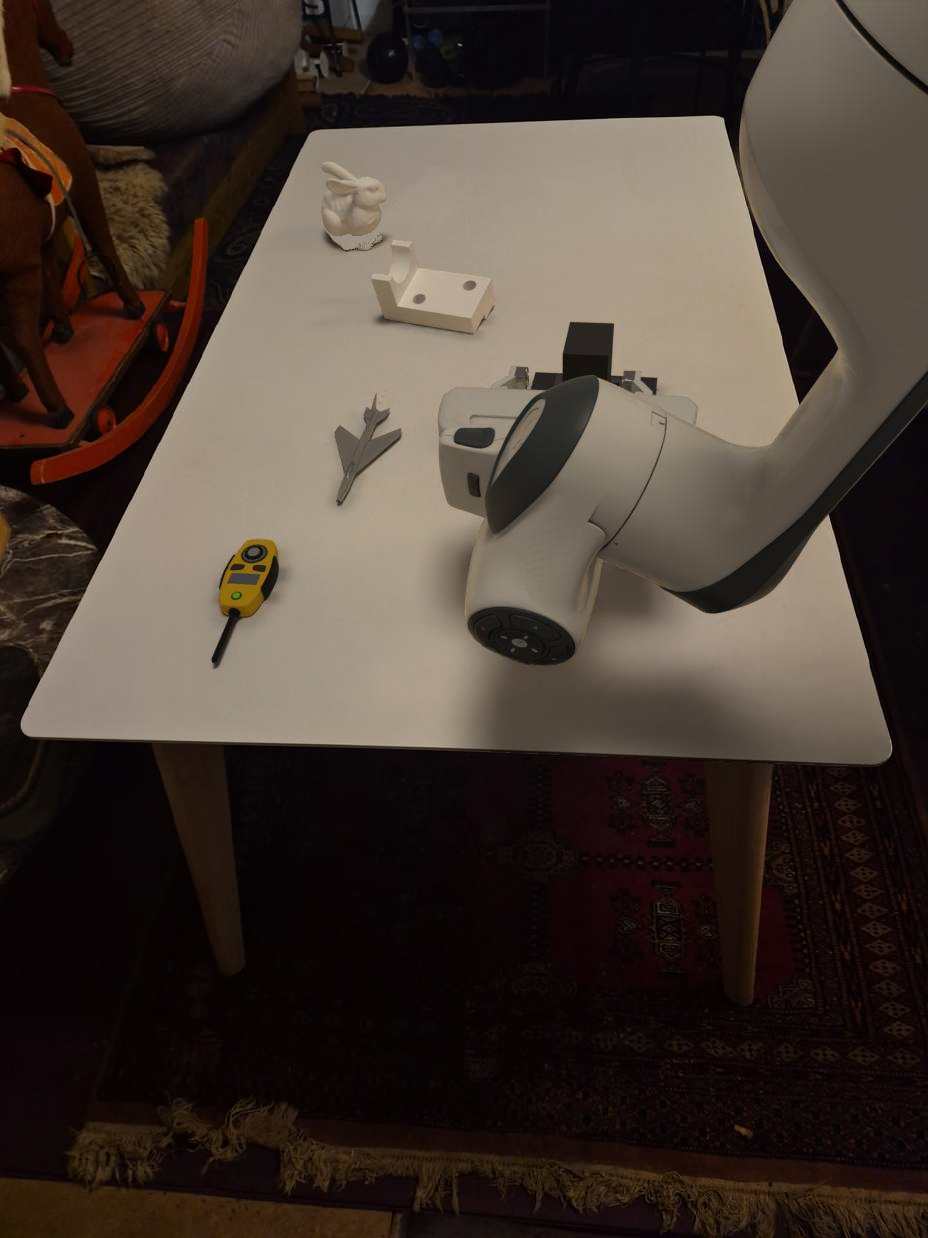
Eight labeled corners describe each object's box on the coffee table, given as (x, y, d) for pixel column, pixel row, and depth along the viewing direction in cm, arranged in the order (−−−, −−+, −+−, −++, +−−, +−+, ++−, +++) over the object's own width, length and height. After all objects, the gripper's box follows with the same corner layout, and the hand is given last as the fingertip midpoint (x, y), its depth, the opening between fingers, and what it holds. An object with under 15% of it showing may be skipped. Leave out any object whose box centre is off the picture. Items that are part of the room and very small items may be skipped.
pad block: (609, 406, 94) (614, 322, 87) (604, 439, 90) (608, 355, 83) (568, 404, 95) (569, 321, 88) (561, 436, 91) (562, 353, 84)
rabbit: (399, 241, 128) (388, 155, 119) (351, 266, 124) (336, 179, 115) (348, 220, 134) (333, 137, 125) (300, 243, 130) (282, 159, 121)
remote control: (284, 536, 83) (235, 656, 73) (288, 550, 85) (241, 670, 75) (237, 534, 84) (182, 652, 74) (242, 549, 85) (189, 666, 76)
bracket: (386, 324, 114) (370, 278, 107) (407, 286, 116) (393, 239, 110) (475, 339, 110) (465, 292, 103) (495, 299, 112) (486, 251, 106)
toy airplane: (303, 504, 89) (298, 487, 87) (356, 388, 102) (353, 371, 101) (374, 509, 88) (370, 492, 86) (419, 391, 101) (416, 374, 99)
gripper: (703, 454, 59) (707, 345, 68) (417, 438, 63) (456, 338, 72) (692, 522, 64) (697, 412, 73) (427, 503, 68) (463, 401, 77)
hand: (575, 375), depth 72 cm, fingers open, 8 cm apart
